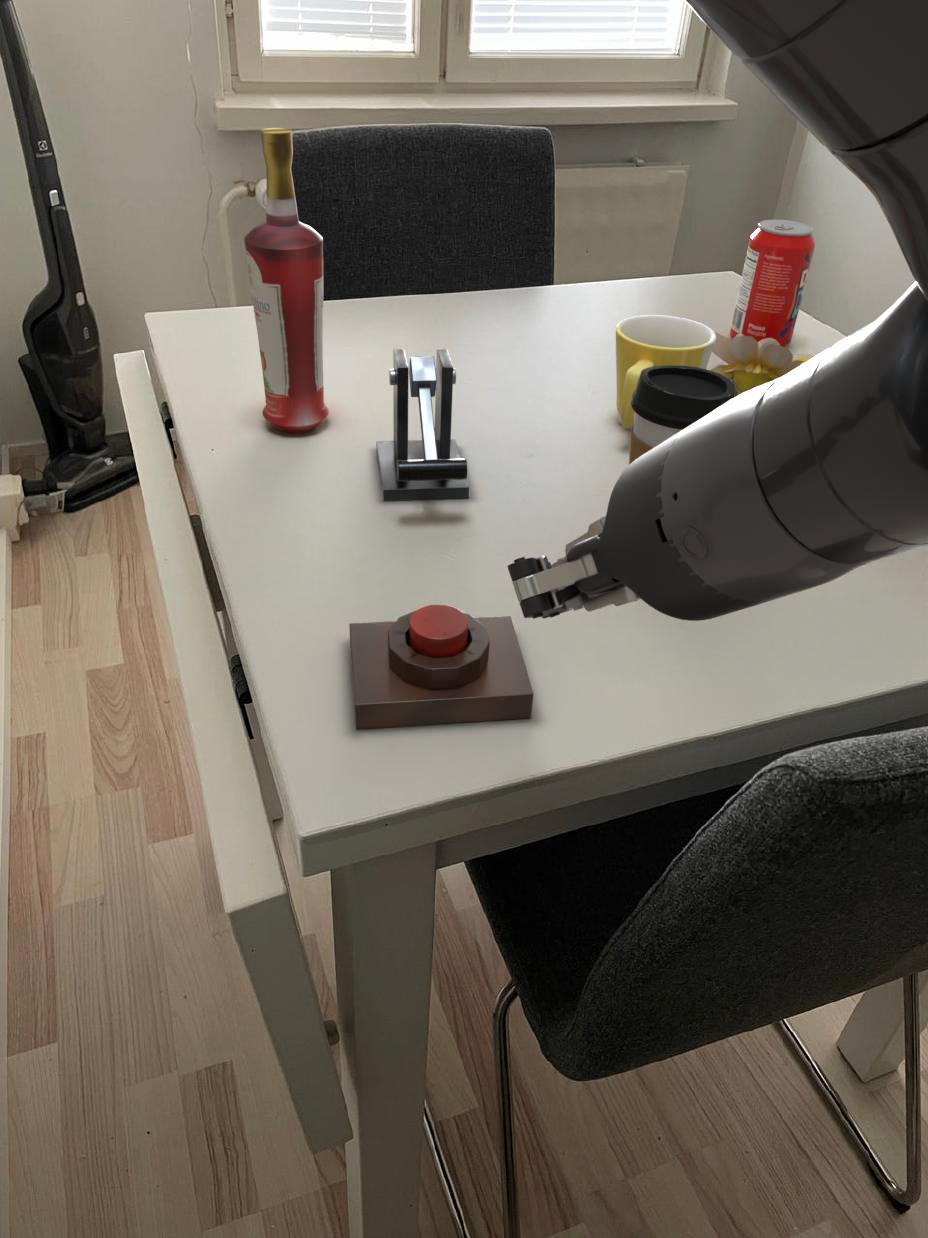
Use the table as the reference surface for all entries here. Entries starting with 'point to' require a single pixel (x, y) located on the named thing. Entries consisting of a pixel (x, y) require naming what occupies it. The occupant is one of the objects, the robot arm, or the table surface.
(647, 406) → the coffee cup
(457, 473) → the tap lever
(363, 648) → the button block
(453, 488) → the lever stand
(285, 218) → the liquor
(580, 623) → the table surface
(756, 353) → the decorative flower
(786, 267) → the soda can
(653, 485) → the robot arm
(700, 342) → the mug
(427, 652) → the button
